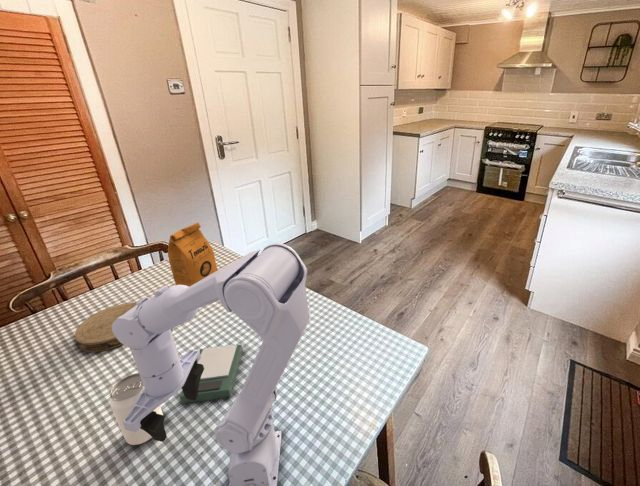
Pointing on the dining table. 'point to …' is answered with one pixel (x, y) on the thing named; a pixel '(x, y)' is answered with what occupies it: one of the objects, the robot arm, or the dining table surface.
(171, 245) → the coffee package
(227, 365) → the scale
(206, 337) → the dining table surface
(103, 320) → the tan flat round disc
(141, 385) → the can
